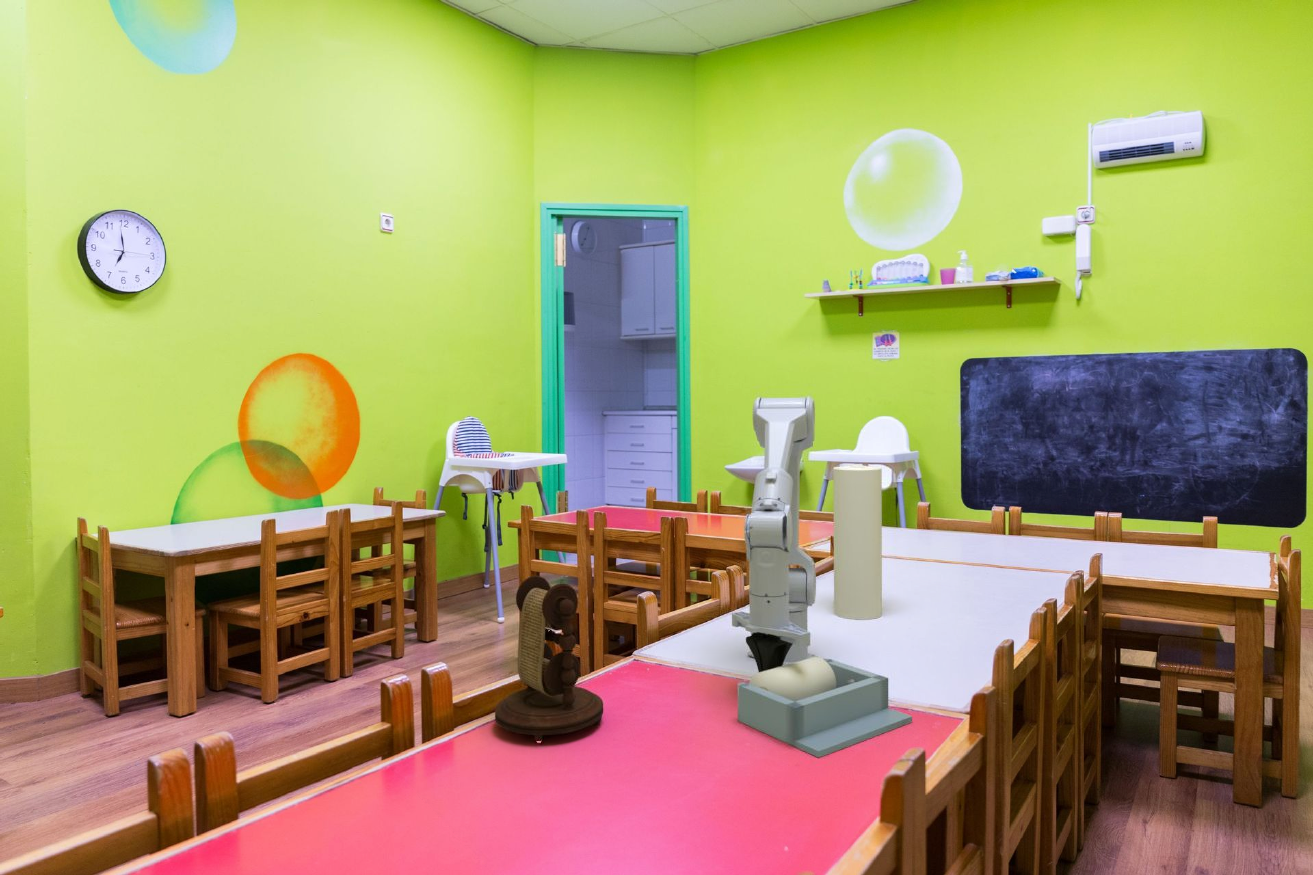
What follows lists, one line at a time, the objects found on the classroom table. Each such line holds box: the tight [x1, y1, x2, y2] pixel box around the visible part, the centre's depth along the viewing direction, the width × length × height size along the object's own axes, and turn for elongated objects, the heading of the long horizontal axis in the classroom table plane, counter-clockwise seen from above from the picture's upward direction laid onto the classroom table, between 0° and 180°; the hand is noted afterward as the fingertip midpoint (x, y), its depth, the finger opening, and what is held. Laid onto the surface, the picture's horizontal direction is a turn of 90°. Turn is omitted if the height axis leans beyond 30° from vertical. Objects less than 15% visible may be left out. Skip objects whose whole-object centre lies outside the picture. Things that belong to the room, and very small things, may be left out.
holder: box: [737, 658, 913, 758], centre depth 115 cm, size 15×18×5 cm
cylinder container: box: [832, 464, 883, 621], centre depth 170 cm, size 9×9×30 cm
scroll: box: [494, 575, 604, 742], centre depth 115 cm, size 15×15×20 cm
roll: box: [748, 656, 836, 702], centre depth 120 cm, size 12×6×6 cm
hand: (769, 684), depth 124 cm, fingers closed
